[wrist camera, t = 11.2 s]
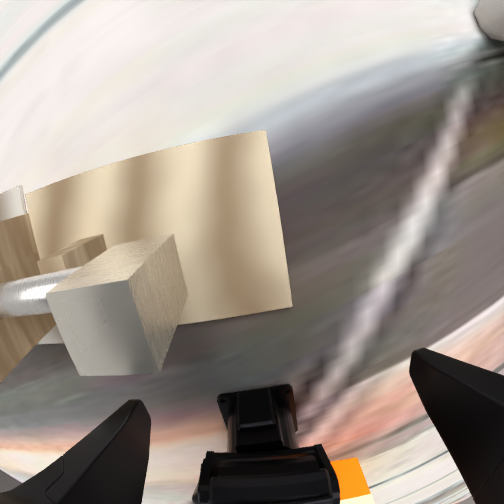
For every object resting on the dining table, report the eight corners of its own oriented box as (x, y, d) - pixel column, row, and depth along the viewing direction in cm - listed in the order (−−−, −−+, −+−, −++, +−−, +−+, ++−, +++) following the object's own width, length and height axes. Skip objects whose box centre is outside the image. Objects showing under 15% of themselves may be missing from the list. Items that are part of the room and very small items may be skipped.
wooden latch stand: (261, 117, 18) (291, 52, 7) (291, 312, 22) (332, 426, 11) (-35, 212, 18) (-118, 240, 7) (6, 342, 22) (-55, 403, 11)
